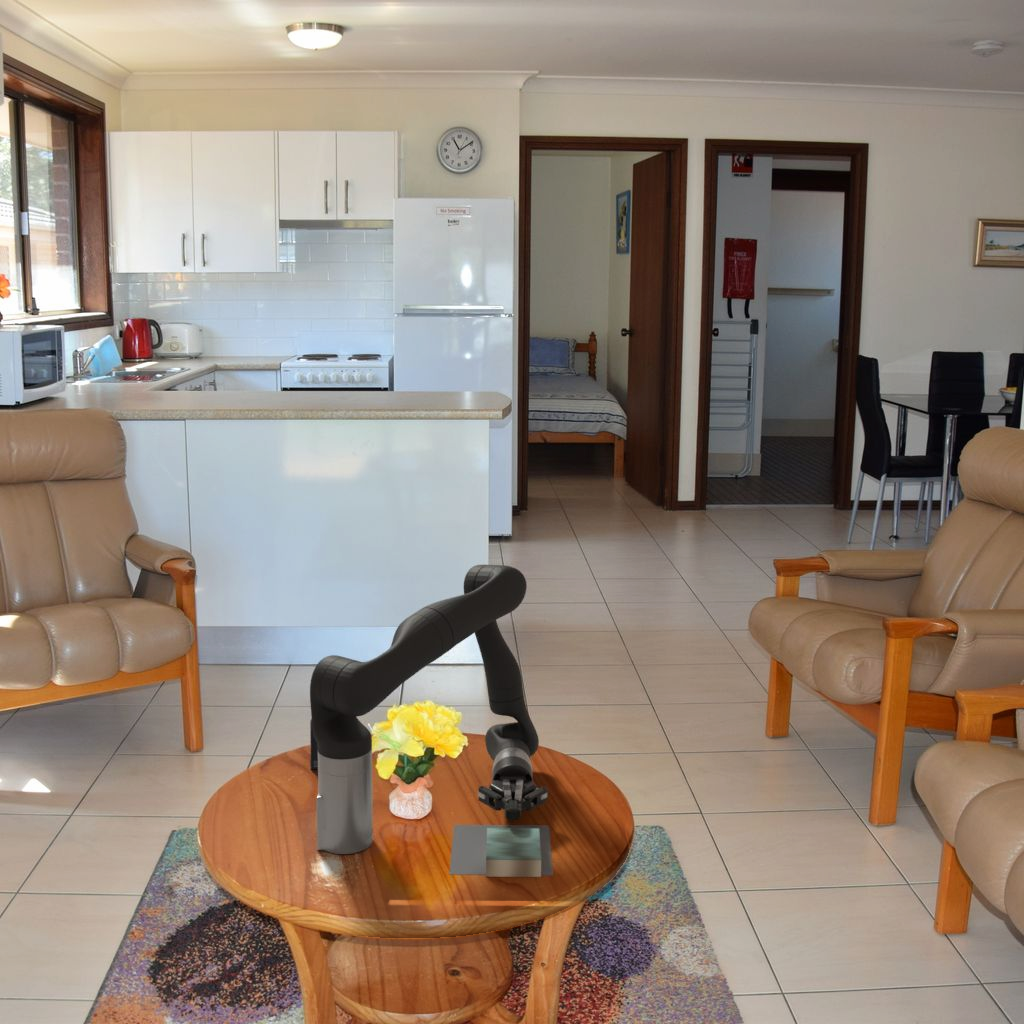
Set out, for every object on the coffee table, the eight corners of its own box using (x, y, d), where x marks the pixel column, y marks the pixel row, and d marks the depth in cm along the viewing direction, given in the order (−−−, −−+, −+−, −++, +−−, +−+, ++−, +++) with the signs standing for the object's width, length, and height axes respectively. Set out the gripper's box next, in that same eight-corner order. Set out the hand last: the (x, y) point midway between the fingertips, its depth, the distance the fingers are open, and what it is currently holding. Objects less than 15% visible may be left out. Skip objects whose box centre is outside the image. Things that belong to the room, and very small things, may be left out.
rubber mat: (449, 877, 191) (449, 874, 191) (454, 827, 209) (454, 824, 209) (552, 878, 191) (552, 875, 191) (548, 828, 209) (548, 825, 209)
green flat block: (486, 844, 201) (485, 876, 190) (487, 828, 201) (486, 858, 190) (538, 845, 201) (540, 876, 191) (539, 828, 201) (541, 859, 190)
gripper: (477, 755, 216) (474, 794, 199) (548, 755, 216) (552, 795, 199) (476, 792, 218) (474, 835, 201) (547, 793, 218) (551, 836, 201)
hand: (513, 815), depth 200 cm, fingers closed
